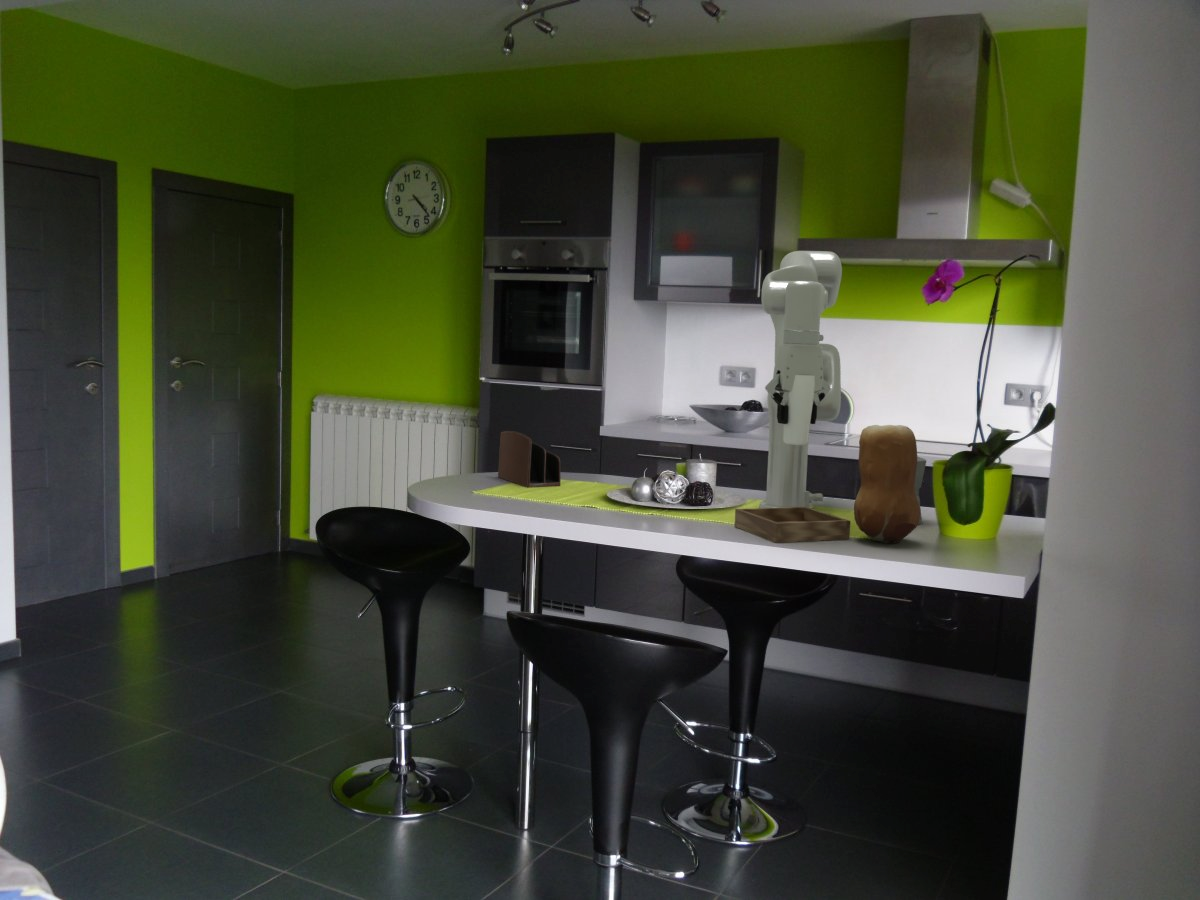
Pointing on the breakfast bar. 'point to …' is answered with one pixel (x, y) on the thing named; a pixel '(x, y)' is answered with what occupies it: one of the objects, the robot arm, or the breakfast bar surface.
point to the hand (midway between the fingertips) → (796, 422)
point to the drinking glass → (799, 410)
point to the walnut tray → (792, 524)
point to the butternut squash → (887, 483)
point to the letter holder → (527, 462)
